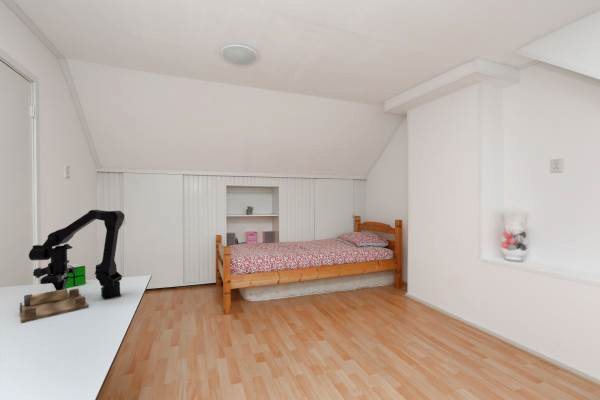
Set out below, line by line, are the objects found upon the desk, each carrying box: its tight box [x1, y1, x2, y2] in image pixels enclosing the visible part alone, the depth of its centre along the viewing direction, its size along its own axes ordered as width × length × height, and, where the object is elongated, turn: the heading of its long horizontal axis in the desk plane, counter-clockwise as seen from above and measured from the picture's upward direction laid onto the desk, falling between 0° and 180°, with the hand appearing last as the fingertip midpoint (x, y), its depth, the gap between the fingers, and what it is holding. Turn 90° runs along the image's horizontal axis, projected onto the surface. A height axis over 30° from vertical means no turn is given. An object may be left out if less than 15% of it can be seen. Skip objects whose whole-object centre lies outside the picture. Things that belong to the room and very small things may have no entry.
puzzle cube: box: [64, 263, 87, 289], centre depth 151 cm, size 10×10×10 cm
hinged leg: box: [23, 288, 69, 306], centre depth 122 cm, size 14×3×4 cm, turn 136°
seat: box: [19, 288, 90, 324], centre depth 118 cm, size 20×20×4 cm
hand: (59, 294), depth 129 cm, fingers closed
